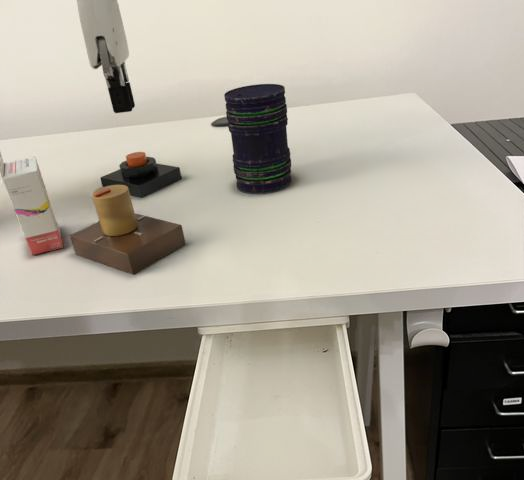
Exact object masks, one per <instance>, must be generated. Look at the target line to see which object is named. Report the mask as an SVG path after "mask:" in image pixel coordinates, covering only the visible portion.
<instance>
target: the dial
mask: <svg viewBox="0 0 524 480" xmlns="http://www.w3.org/2000/svg"><path fill="white" fill-rule="evenodd" d="M91 198H92V201H93V204H94V208H95V211H96V214H97V217H98V222H99V221H100V225H101V228H102V231H103V233H104V234H105V235H108V236H119V235H124V234H127V233H130V232H132V231H134V230H135V229H136V228H137V226H138V224H137V220H136V216H135V213H136V212H135V209H134V204H133V201H132V195H130V193H129V189H128V187H127V186H125V185H110V186H106V187H103V186H102V187H99V188H97V189H96V190H94V191H93V192H92V193H91Z"/></svg>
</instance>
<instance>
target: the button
mask: <svg viewBox="0 0 524 480" xmlns="http://www.w3.org/2000/svg"><path fill="white" fill-rule="evenodd" d="M146 157H147V154H146V152H145V151H136V152H131V153H129V154H126V156H125V161H126V160H127V164H128V166H130V167H133V166H140V165H144V164H146V163H148V162H147V158H146Z"/></svg>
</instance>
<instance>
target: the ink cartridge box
mask: <svg viewBox="0 0 524 480" xmlns="http://www.w3.org/2000/svg"><path fill="white" fill-rule="evenodd" d="M0 177H1V180H2V183H3V185H4V188H5V190H6V192H7V196H8V198H9V201H10V202H11V205H12V208H13V210H14V213H15V216H16V218H17V220H18V223H19V226H20V228H21V230H22V233H23V236H24V238H25V240H26V243H27V246H28V248H29V251H30V254H31V255H32V256H34V255H39V254H42V253H47V252H50V251H54V250H58V249H63V248H64V245H63V244H64V243H63V240H62V235H61V230H60V226H59V224H58V221H57V218H56V215H55V212H54V209H53V206H52V203H51V200H50V197H49V194H48V191H47V188H46V184H45V181H44V179H43V176H42V171H41V170H40V166H39V163H38V160H37V157H36V156H30V157H29V156H28V157H25V158H21V159H17V160H12V161H7V162H4V160H3V156H2V153H1V151H0Z"/></svg>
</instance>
